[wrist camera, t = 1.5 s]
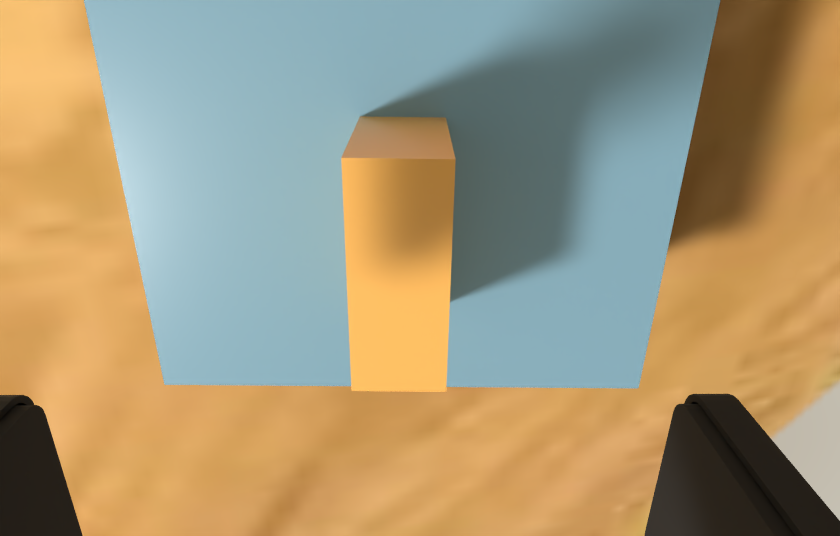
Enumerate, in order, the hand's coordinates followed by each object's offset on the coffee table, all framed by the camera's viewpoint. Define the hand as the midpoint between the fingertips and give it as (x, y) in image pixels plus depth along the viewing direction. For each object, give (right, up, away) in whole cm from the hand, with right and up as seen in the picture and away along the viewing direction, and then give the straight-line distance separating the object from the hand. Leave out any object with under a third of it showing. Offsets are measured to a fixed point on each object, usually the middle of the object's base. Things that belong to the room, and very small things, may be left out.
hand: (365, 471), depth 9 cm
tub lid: (0, +5, +11) cm, 12 cm away
